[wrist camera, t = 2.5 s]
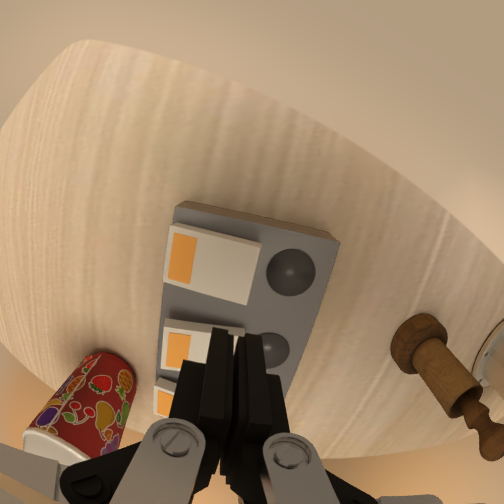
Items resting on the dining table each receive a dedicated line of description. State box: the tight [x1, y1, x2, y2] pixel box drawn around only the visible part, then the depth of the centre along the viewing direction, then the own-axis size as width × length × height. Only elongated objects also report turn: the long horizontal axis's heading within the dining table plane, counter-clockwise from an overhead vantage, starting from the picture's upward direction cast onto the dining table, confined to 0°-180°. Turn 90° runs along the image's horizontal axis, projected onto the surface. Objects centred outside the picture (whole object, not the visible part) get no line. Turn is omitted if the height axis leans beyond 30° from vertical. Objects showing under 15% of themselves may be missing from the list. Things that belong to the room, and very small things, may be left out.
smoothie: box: [22, 352, 136, 466], centre depth 18 cm, size 8×8×20 cm
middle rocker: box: [161, 318, 245, 371], centre depth 21 cm, size 6×4×1 cm, turn 77°
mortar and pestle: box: [391, 314, 504, 461], centre depth 19 cm, size 7×6×18 cm
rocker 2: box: [162, 222, 262, 305], centre depth 19 cm, size 6×4×1 cm, turn 77°
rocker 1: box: [154, 377, 177, 418], centre depth 23 cm, size 6×4×1 cm, turn 77°
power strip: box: [156, 201, 340, 399], centre depth 24 cm, size 12×20×4 cm, turn 167°
